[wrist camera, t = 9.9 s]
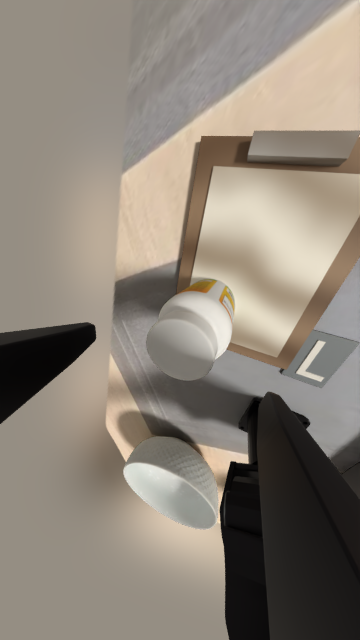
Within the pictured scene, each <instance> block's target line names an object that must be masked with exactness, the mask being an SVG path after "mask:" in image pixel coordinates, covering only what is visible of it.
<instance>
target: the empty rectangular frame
mask: <svg viewBox="0 0 360 640" xmlns="http://www.w3.org/2000/svg"><path fill="white" fill-rule="evenodd" d="M342 476H343V478H344V479H345V480H346V481H347V483H348V484H349V485H350V486H351V488H352V489H353V490H354V492H355V493H356V494H357V495H358V497H359V498H360V462H359V463H358V464H356V465H355V466H353V467H352V468H350V469H349V470H347V471H346V472H344V473H343V474H342Z"/></svg>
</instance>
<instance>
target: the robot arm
mask: <svg viewBox="0 0 360 640" xmlns="http://www.w3.org/2000/svg"><path fill="white" fill-rule="evenodd" d="M95 340H96V330H95V326H94V325H93V324H91V323H88V322H86V323H77V324H69V325H62V326H53V327H46V328H37V329H29V330H21V331H13V332H5V333H0V424H1V423H2V422H3V421H4V420H6V419H7V418H8V417H9V416H10V415H12V414H13V413H14V412H15V411H16V410H18V409H19V408H20V407H21V406H22V405H23V404H25V403H26V402H27V401H28V400H29V399H30V398H32V397H33V396H34V395H35V394H36V393H38V392H39V391H40V390H41V389H42V388H44V387H45V386H46V385H47V384H48V383H49V382H51V381H52V380H53V379H54V378H55V377H57V376H58V375H59V374H60V373H61V372H63V371H64V370H65V369H66V368H67V367H68V366H69V365H71V364H72V363H73V362H74V361H75V360H76V359H77V358H78V357H79V356H80V355H81V354H82V353H83V352H84V351H85V350H86V349H87V348H88V347H89V346H90V345H91V344H92V343H93V342H94V341H95ZM309 425H310V422H309V420H308V418H306V417H303V416H301V415H298V414H296V413H293V412H292V411H291V409H290V408H289V407H288V406H287V404H286V403H285V402H284V400H283V399H282V398H281V397H280V396H279V395H277V394H275V393H272V392H267V393H266V394H265V396H264V398H263V399H262V400H261V399H258V398H254V399H253V400H252V402H251V403H250V405H249V407H248V408H247V410H246V412H245V414H244V415H243V417H242V419H241V420H240V422H239V426H238V427H239V429H241V430H243V431H245V432H247V433H248V458H249V464H244V463H236V462H233V461H231V462H230V467H229V470H228V475H227V479H226V483H225V488H224V492H223V497H222V501H221V505H220V521H221V532H222V539H223V544H224V554H225V582H226V585H225V590H226V591H225V619H226V625H227V630H228V635H229V640H360V498H359V497H358V495H357V494H356V493H355V492H354V490H353V489H352V488H351V486H350V485H349V484H348V483H347V481H346V480H345V479H344V478H343V476H342V475H341V474H340V472H339V471H338V470H337V469H336V467H335V466H334V465H333V463H332V462H331V461H330V460H329V458H328V457H327V456H326V454H325V453H324V452H323V451H322V449H321V448H320V447H319V445H318V444H317V443H316V442H315V440H314V439H313V438H312V436H311V435H310V434H309V433H308V431H307V430H306V428H307V427H308V426H309Z"/></svg>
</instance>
